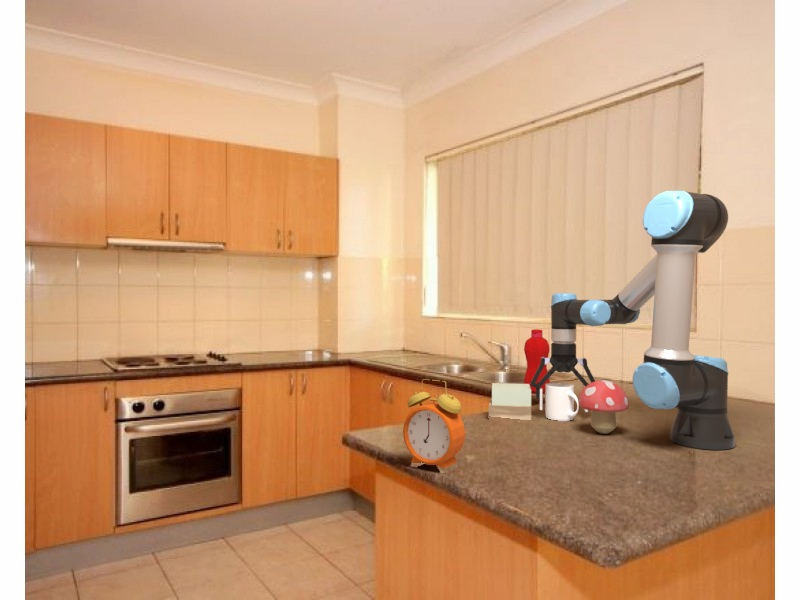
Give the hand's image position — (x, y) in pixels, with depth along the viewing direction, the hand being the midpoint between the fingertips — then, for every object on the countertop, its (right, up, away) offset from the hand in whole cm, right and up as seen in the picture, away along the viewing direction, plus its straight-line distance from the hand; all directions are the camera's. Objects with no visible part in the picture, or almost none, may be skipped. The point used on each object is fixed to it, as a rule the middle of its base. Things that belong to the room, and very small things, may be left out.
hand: (563, 410), depth 176 cm
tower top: (-15, +2, +5) cm, 16 cm away
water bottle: (+4, -3, +49) cm, 50 cm away
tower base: (-16, -3, +5) cm, 17 cm away
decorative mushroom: (+6, -3, -18) cm, 19 cm away
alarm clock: (-44, -4, -48) cm, 65 cm away
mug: (0, -3, 0) cm, 3 cm away
